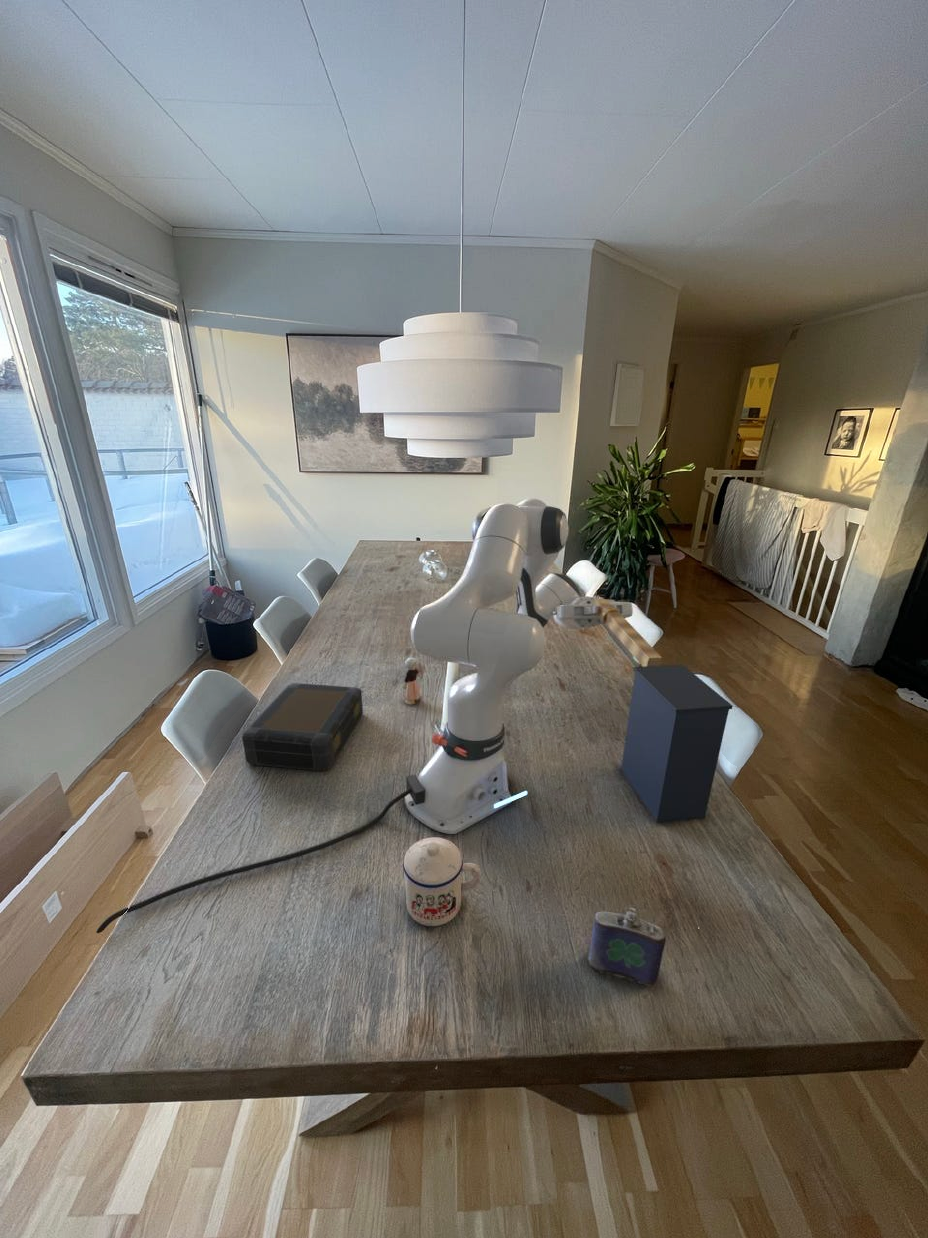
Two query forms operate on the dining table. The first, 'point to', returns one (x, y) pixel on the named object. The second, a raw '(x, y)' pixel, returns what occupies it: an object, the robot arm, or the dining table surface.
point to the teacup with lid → (435, 880)
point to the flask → (626, 946)
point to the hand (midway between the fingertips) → (606, 609)
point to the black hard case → (304, 727)
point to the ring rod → (627, 634)
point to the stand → (673, 741)
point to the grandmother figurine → (411, 681)
